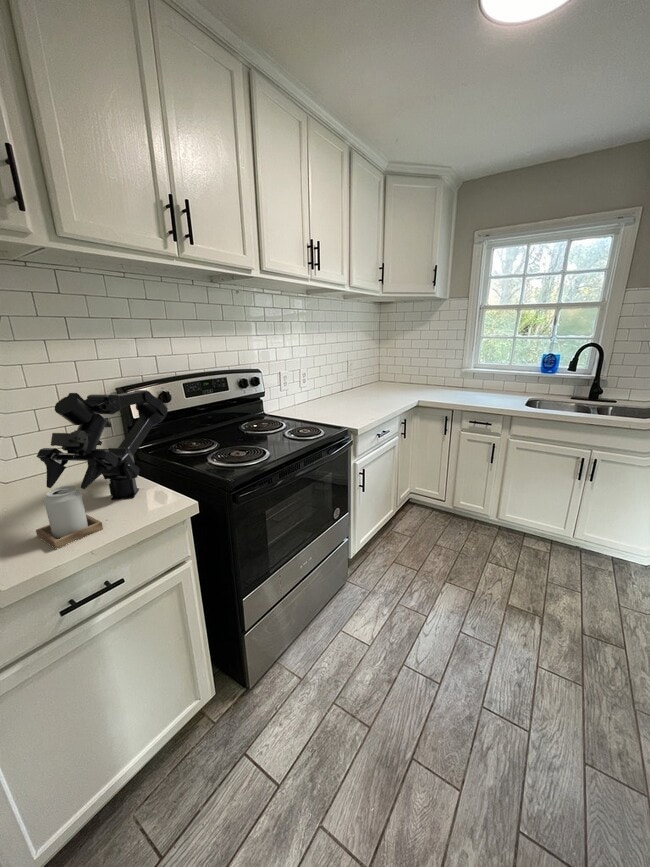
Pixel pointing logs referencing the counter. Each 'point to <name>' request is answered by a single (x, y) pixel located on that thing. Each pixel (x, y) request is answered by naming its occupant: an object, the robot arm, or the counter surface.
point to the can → (65, 511)
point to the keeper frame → (56, 543)
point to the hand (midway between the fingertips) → (65, 488)
